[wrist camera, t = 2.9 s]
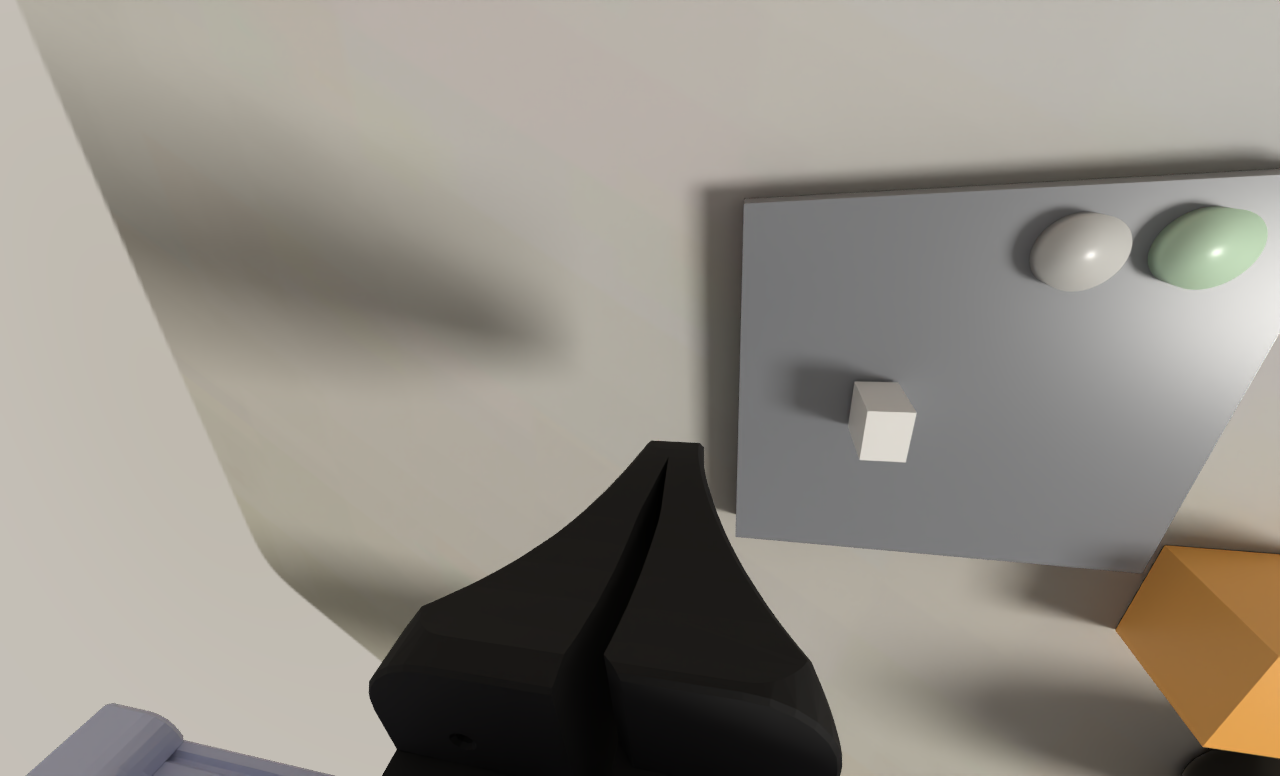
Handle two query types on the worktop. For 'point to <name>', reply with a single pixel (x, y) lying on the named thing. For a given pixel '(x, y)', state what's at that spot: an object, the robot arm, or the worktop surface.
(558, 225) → the worktop surface
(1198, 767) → the supplement bottle
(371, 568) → the worktop surface
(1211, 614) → the orange wooden cube
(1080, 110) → the worktop surface
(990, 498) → the panel
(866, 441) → the small white block
